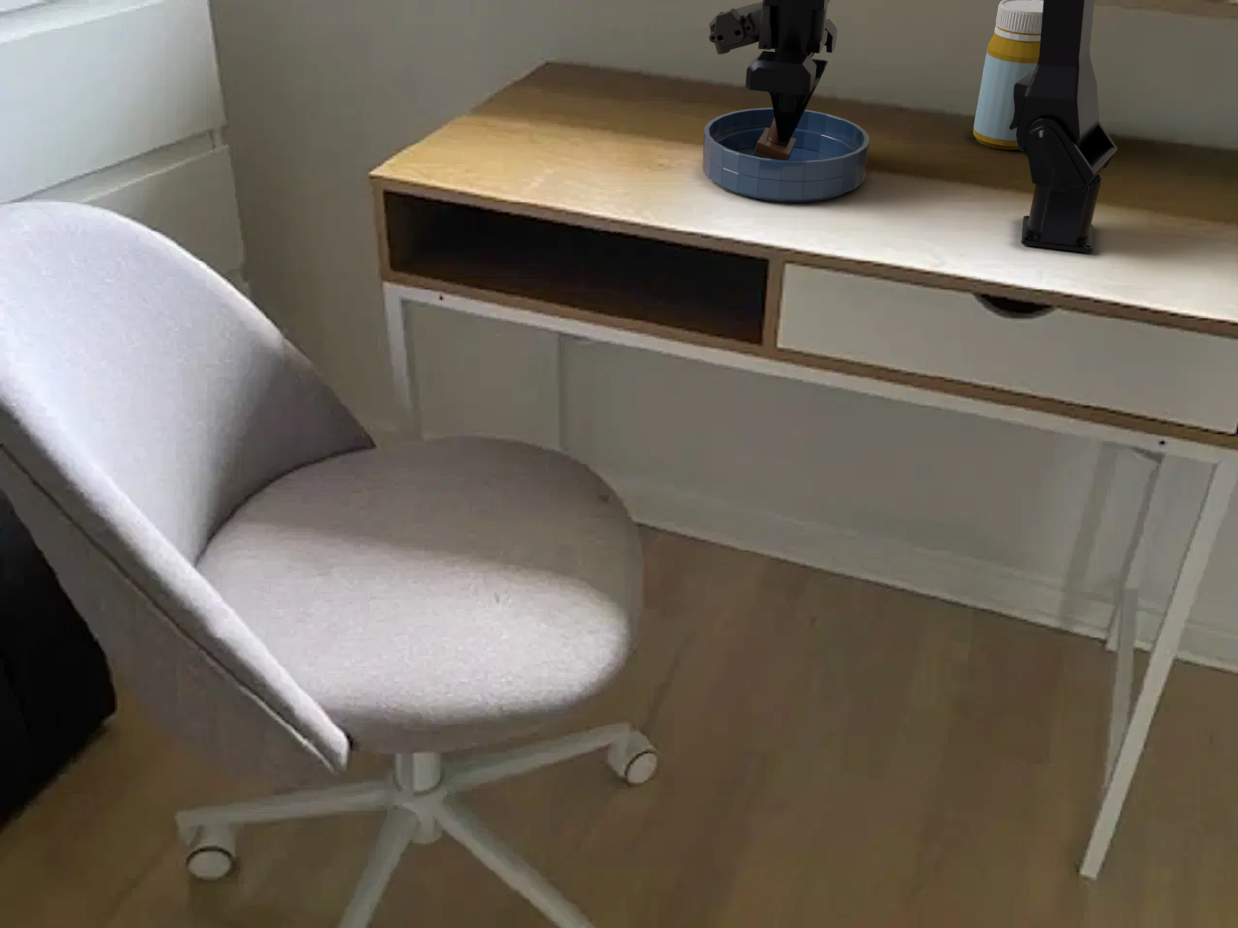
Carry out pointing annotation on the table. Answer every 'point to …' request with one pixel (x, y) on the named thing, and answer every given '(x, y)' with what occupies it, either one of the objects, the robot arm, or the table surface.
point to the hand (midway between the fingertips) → (786, 137)
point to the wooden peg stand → (773, 145)
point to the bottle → (1007, 70)
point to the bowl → (813, 172)
